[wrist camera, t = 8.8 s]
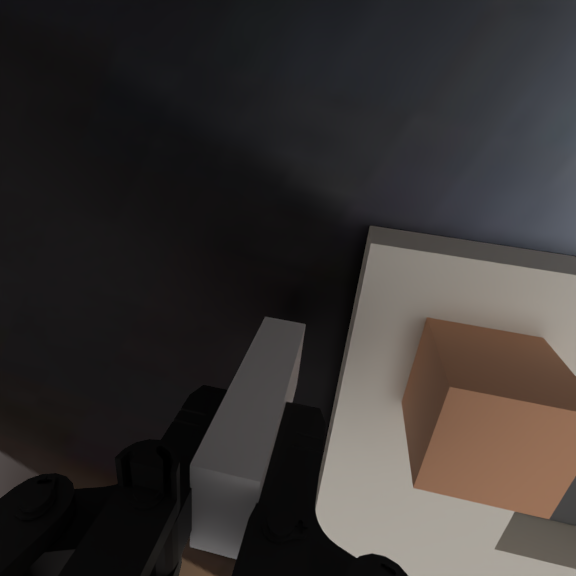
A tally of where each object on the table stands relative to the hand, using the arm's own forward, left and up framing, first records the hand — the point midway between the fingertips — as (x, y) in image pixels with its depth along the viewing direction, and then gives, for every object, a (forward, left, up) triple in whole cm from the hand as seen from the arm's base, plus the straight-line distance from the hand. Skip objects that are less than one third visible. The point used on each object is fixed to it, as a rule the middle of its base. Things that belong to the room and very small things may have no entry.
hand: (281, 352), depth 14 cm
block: (0, +7, -1) cm, 7 cm away
